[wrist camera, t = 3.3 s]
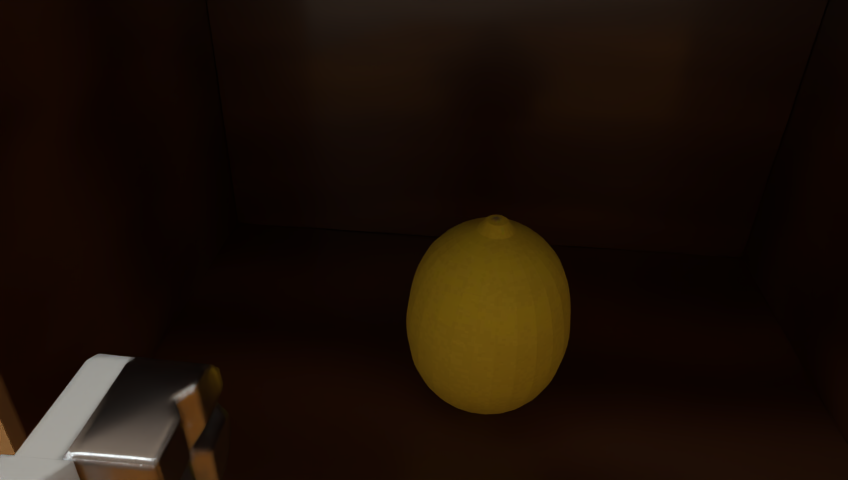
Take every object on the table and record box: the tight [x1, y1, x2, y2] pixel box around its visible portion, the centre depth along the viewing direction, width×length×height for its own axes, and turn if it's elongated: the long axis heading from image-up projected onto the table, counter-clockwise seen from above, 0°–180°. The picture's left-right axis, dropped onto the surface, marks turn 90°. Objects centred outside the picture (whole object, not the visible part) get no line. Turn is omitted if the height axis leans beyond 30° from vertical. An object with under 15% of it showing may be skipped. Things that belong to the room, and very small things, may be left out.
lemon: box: [406, 215, 571, 414], centre depth 23 cm, size 6×6×8 cm
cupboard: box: [0, 0, 848, 480], centre depth 22 cm, size 18×27×23 cm, turn 85°
